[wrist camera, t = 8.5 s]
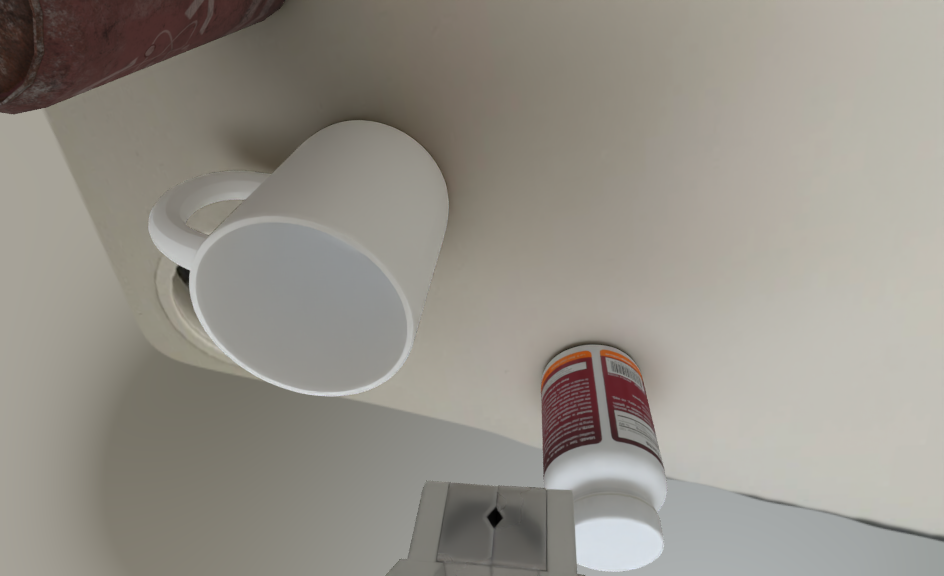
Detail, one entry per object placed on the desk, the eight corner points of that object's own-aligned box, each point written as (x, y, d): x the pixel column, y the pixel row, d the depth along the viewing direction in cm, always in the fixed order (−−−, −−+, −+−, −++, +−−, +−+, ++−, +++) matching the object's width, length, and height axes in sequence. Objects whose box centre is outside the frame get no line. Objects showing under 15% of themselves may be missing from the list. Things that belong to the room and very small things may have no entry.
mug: (223, 220, 29) (99, 342, 21) (221, 69, 25) (59, 150, 16) (432, 278, 30) (393, 418, 22) (469, 143, 26) (436, 256, 17)
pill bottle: (543, 411, 36) (545, 578, 27) (538, 341, 32) (539, 506, 23) (639, 410, 35) (674, 583, 26) (644, 338, 31) (688, 509, 22)
